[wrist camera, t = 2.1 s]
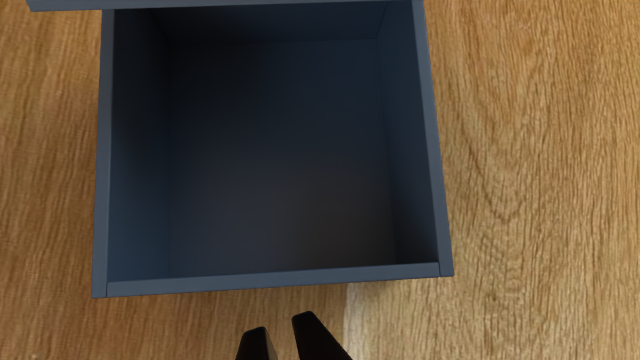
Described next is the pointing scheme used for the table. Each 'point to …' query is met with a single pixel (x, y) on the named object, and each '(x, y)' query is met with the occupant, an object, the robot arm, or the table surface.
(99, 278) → the carton
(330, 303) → the table surface
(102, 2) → the flap
